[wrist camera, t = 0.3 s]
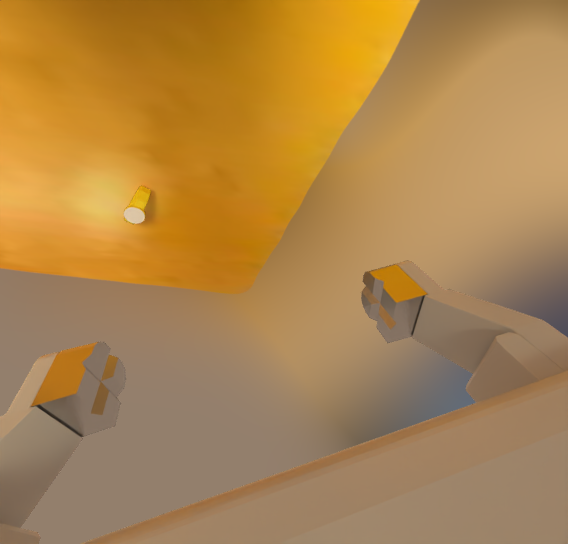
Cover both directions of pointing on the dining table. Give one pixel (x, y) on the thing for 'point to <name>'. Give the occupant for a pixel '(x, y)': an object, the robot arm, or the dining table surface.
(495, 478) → the robot arm
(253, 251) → the dining table surface
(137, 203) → the watch
